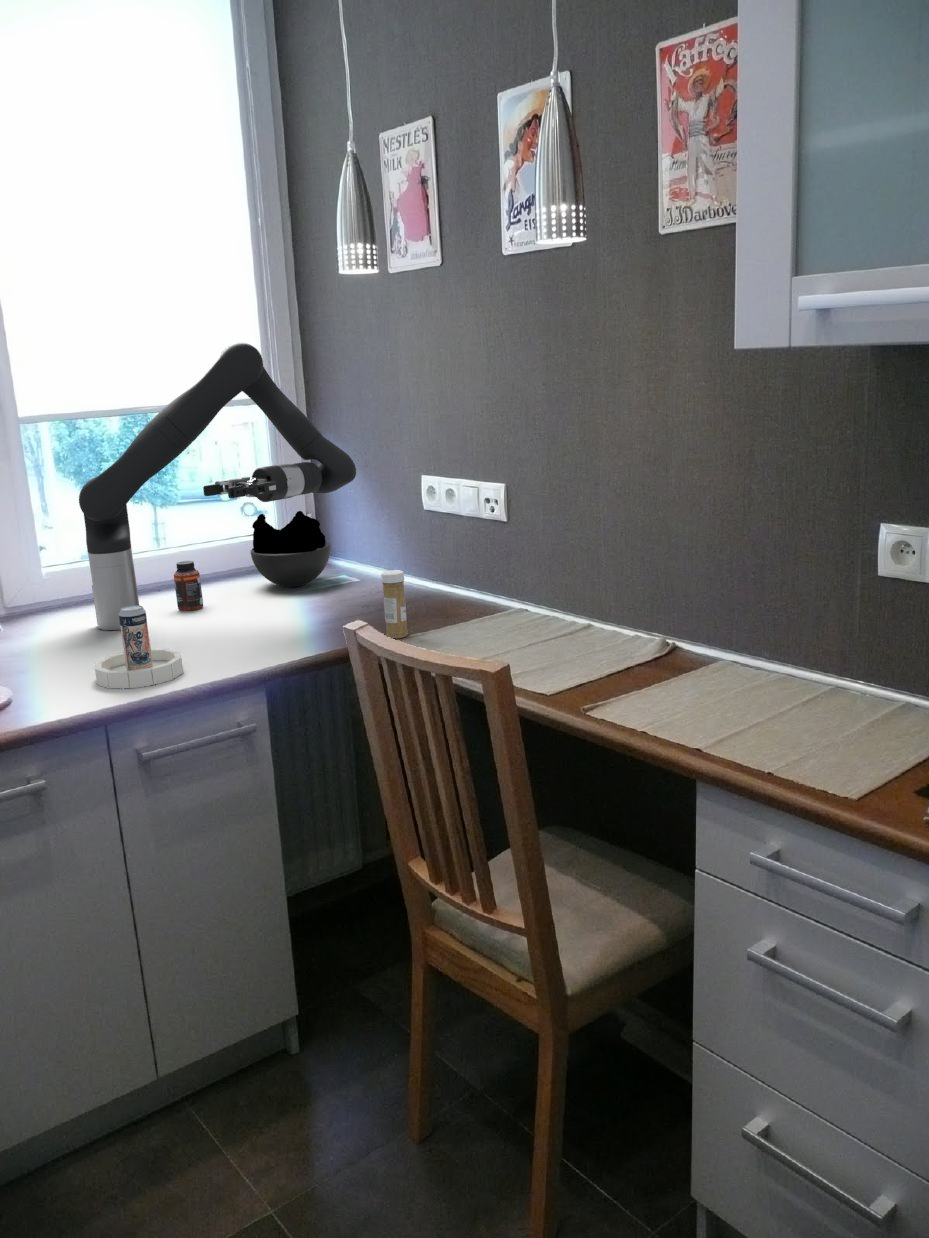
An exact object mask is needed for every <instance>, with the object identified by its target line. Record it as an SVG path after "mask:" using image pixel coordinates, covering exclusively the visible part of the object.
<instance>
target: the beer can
mask: <svg viewBox="0 0 929 1238" xmlns="http://www.w3.org/2000/svg"><path fill="white" fill-rule="evenodd" d="M119 620H120V627H121V629H120V634H121V640H122V648H123V652H124V655H125V662H126V669H127V671H131V670H139V669H146V668H151V667H153V663H152V655H151V649H152V648H151V643H150V640H151V639H150V636H149V627H148V621H147V612H146V609H145V608H144V606H143V605H140V604H139V605H135V606H127V607H123V608H121V610H120V613H119Z"/></svg>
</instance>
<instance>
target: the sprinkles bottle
mask: <svg viewBox="0 0 929 1238" xmlns="http://www.w3.org/2000/svg"><path fill="white" fill-rule="evenodd" d="M380 575H381V576H380V577H381V578H380V579H381V584H382V591H383V592H382V593H383V609H384V619H385V620H384V621H385V628H386V635H387V636H389V637H394V638H396V640H397V639H402V638H406V637H407V636H409V635H408V634H409V632H408V623H407V609H406V608H407V607H406V597H405V585H404V582H405V573H404V571H403V570H399V569H392V570H385V571H383V572H381V574H380ZM387 636H386V637H387ZM394 638H393V639H394Z"/></svg>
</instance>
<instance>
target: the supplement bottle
mask: <svg viewBox="0 0 929 1238" xmlns="http://www.w3.org/2000/svg"><path fill="white" fill-rule="evenodd" d="M173 580H174V581H173V582H174V588H175V589H174V591H175V596H176V603H177V609H178V610H179V611H181V612H195V611H199V610H201V609H203V607H204V598H203V592H202V591H203V590H202V583H201V576H200V571H198V569H196V568H195V563H194V561H193V560H182V561H178V562H176V571H175V572H174V573H173Z"/></svg>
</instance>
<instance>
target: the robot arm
mask: <svg viewBox="0 0 929 1238" xmlns="http://www.w3.org/2000/svg"><path fill="white" fill-rule="evenodd" d="M264 366H265V365H264V359H263V357H262V354H261V352H260V350H258V349H257V348H256V347H255V346H254V345H252V344H250V343H247V342H241V341H240V342H235V343H231V344H229V345H228V346H226V347H225V348H224V349H223V350H222V352H221V353H220V356H219V358H218V359H217V360H216V362H215V363H214V364H213V365H212V366H211V368H210V369H209V370H208V371H207V372H206V373H205V374H204V375H203V377H201V378H200V380H198V381H197V382H196V383H195V384H194V385H192V386H191V387H190V388H188V389H187V390H186V391H183V392H182V394H179V396H178V397H175V399H173V400H172V401H171V402H170V403H168V404H167V405H166V406H165V407H164V408H162V410H160V411H159V412H158V413H157V414H156V415H155V416H153V418H152V419H151V420H150V421H149V422H148V423H147V424H146V425H145V426H144V428H143V429H142V430H141V431H140V432H139V433H138V434H137V435H136V437H135V438H134V439H133V441H131V443H130V445H129V446H128V447H127V448H126V450H125V451H124V452H123V454H121V456H120V457H119V458H118V459H117V460H116V461H115V462H114V463H112V464H111V465H110V466H109V467H107V468H106V469H105V470H104V471H103V472H101V473H100V474H99V475H97V476H95V477H92V478H91V479H89V480H88V481H86V483H85V484H84V485H83V486H82V488H81V490H80V491H79V496H78V504H79V507H80V510H81V512H82V514H83V518H84V519H83V520H84V526H85V541H86V543H85V544H86V549H87V556H88V562H89V568H90V569H89V570H90V576H91V583H92V585H91V590H92V596H93V597H92V598H93V601H94V602H93V603H94V611H95V618H96V624H97V626H98V629H100V630H104V631H119V630H121V627H120V620H119V613H120V610H121V608H123V607H127V606H135V605H140V599H139V592H138V585H137V579H136V571H135V564H134V558H133V550H132V549H133V548H132V541H131V529H130V521H129V513H128V505H127V504H128V503H129V501H131V499H132V498H133V497H134V496H135V495H136V493H137V492H138V491H139V490H140V488H141V487H142V486H143V485H145V483H147V482H148V481H149V480H150V479H152V477H154V476H155V475H157V474H158V473H159V472H161V471H162V470H163V469H165V468H166V466H168V465H169V464H171V463H172V462H173V461H174V460H175V459H176V458H178V457H179V456H180V455H181V454H182V453H183V452H184V451H185V450H186V449H187V448H189V446H191V445H192V443H194V441H196V439H197V438H198V437H200V435H201V434H202V432H204V430H205V429H206V428H207V427H208V426H209V425H210V423H211V422H212V421H213V420H214V419H215V417H216V416H217V415H218V413H220V412H221V410H222V409H223V408H224V407H225V406H226V405H227V404H229V402H230V401H232V400H233V399H235V397H237V396H238V395H239V394H240V393H242V392H243V394H245V395H246V396H248V398H250V399H251V400H252V401H253V403H254V404H255V405H257V407H258V408H259V409H260V410H261V411H262V413H263V414H264V415H265V416H266V417H267V418H268V419H269V421H270V423H272V425H273V426H274V427H275V428H276V430H277V431H278V432H279V434H280V435H281V436H282V437H283V439H284V440H285V441H286V442H287V444H288V445H289V446H290V447H292V449H293V450H294V451H295V452H296V454H297V455H298V456H299V457H300V458H301V459H302V460H304V461H305V462H303V461H302V462H297V463H281V464H273V465H267V466H261V467H257V468H256V469H255V470H254V471H253V473H252V475H251V477H250V476H244V477H242V478H232V479H228V480H221V481H218V480H217V481H215V482H214V484H209V485H208V484H207V485H204V486H203V487H202V488H203V495H204V497H212V496H218V495H219V496H223V495H227V496H228V498H229V499H237V498H243V497H245V498H246V497H247V498H256V499H257V500H259V501H260V502H263V503H269V502H275V501H279V500H286V499H291V498H293V497H297V496H300V495H302V496H303V495H308V494H330V493H332V492H334V491H335V492H336V491H337V490H339V489H340V488H343V487H345V486H346V485H349V483H352V482H353V481H354V480H355V478H356V476H357V468H356V464H355V462H354V460H353V459H352V457H351V456H350V455H349V454H348V453H346V452H345V450H343V449H342V448H340V447H338V445H336V444H335V443H333V442H332V441H331V440H329V439H327V438H326V437H325V436H323V434H322V433H321V432H320V430H318V428H317V427H316V426H315V425H314V423H313V422H312V421H311V420H310V419H309V418H308V417H307V416H306V414H304V412H303V411H302V410H301V409H300V408H298V406H297V405H295V403H294V402H292V400H290V399H289V397H287V396H286V394H285V393H284V392H283V391H282V389H280V388H279V386H277V384H276V383H275V381H274V380H273V379H272V377H271V376H270V375H269V373H268V371H267V370H266V368H265V367H264ZM309 460H310V462H309ZM312 460H316V461H317V462H319V463H318V464H316V463H313V462H311V461H312Z"/></svg>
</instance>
